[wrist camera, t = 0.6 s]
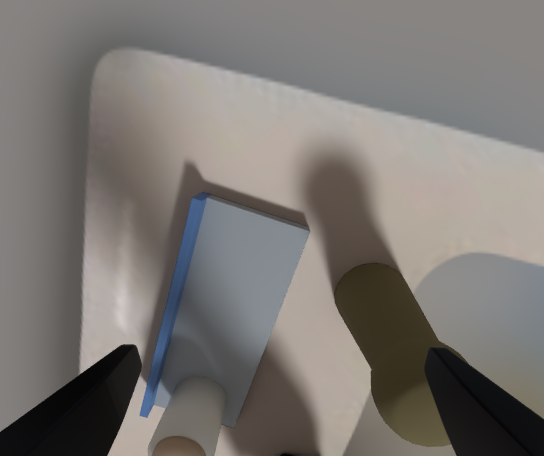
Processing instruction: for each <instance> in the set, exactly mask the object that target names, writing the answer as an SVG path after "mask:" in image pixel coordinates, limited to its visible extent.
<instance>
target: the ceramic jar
mask: <svg viewBox="0 0 544 456" xmlns="http://www.w3.org/2000/svg"><path fill="white" fill-rule="evenodd" d="M226 403H227V397H226V393H225V391H224V389H223V388H222V387H221V386H220V385H219V384H218V383H217V382H215V381H214V380H212V379H210V378H207V377H202V376H191V377H187V378H185V379H183V380H181V381H180V382H179V383H178V384H177V385H176V387H175V389H174V391H173V393H172V396H171V398H170V400H169V402H168V404H167V406H166V409H165V411H164V413H163V415H162V417H161V419H160V422H159V424H158V426H157V428H156V430H155V432H154V435H153V437H152V439H151V441H150V443H149V446H148V456H214V454H215V450H216V446H217V441H218V437H219V433H220V429H221V424H222V420H223V416H224V412H225V407H226Z"/></svg>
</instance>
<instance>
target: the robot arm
mask: <svg viewBox="0 0 544 456" xmlns="http://www.w3.org/2000/svg"><path fill="white" fill-rule="evenodd" d="M141 368H142V363H141V359H140V356H139V352H138V349H137V347H136V345H133V344H124V345H121V346H119V347H118V348H116V349H115V350H113V351H112V352H111V353H109V354H108V355H106V356H105V357H104V358H102V359H101V360H100V361H98V362H97V363H95V364H94V365H93V366H91V367H90V368H88V369H87V370H86V371H84V372H83V373H81V374H80V375H79V376H77V377H76V378H75V379H73V380H72V381H70V382H69V383H68V384H66V385H65V386H63V387H62V388H61V389H59V390H58V391H56V392H55V393H54V394H52V395H51V396H50V397H48V398H47V399H45V400H44V401H43V402H41V403H40V404H38V405H37V406H36V407H34V408H33V409H32V410H30V411H29V412H27V413H26V414H25V415H23V416H22V417H20V418H19V419H18V420H16V421H15V422H13V423H12V424H11V425H9V426H8V427H6V428H5V429H4V430H2V431H1V432H0V456H107V455H108V453H109V451H110V449H111V447H112V444H113V442H114V440H115V438H116V436H117V434H118V431H119V429H120V427H121V425H122V422H123V419H124V417H125V414H126V411H127V409H128V406H129V403H130V400H131V398H132V395H133V392H134V389H135V386H136V384H137V381H138V378H139V375H140V372H141ZM424 373H425V376H426V379H427V382H428V384H429V387H430V390H431V393H432V396H433V398H434V401H435V404H436V407H437V410H438V412H439V415H440V418H441V421H442V423H443V426H444V428H445V431H446V433H447V436H448V438H449V440H450V442H451V444H452V446H453V449H454V451H455V453H456V455H457V456H544V419H543V418H542V417H540V416H539V415H538V414H536V413H535V412H533V411H532V410H531V409H529V408H528V407H526V406H525V405H524V404H522V403H521V402H520V401H518V400H517V399H516V398H514V397H513V396H511V395H510V394H509V393H507V392H506V391H505V390H503V389H502V388H500V387H499V386H498V385H496V384H495V383H494V382H492V381H491V380H490V379H488V378H487V377H485V376H484V375H483V374H481V373H480V372H479V371H477V370H476V369H475V368H473V367H472V366H470V365H469V364H468V363H466V362H465V361H464V360H462V359H461V358H460V357H458V356H457V355H455V354H454V353H453V352H451V351H450V350H449V349H447V348H445V347H439V346H432V347H430V348H429V349H428V352H427V356H426V360H425V364H424ZM281 456H291V455H287V454H282V455H281Z"/></svg>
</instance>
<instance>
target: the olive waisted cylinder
mask: <svg viewBox="0 0 544 456" xmlns="http://www.w3.org/2000/svg"><path fill="white" fill-rule="evenodd" d="M335 304H336V306H337V309H338V311H339V313H340V315H341V317H342V318H343V320H344V322H345V324H346V325H347V327H348V329H349V331H350V332H351V334H352V336H353V338H354V339H355V341H356V343H357V345H358V346H359V348H360V350H361V352H362V353H363V355H364V357H365V359H366V360H367V362H368V364H369V366H370V367H371V369H372V370H371V393H372V396H373V399H374V402H375V405H376V407H377V409H378V411H379V413H380V415H381V417H382V418H383V420H384V421H385V423H386V424H387V425H388V426H389V427H390V428H391V429H392V430H393V431H394V432H395V433H397V434H398V435H399V436H400V437H402V438H403V439H405V440H407V441H409V442H411V443H413V444H417V445H421V446H426V447H434V446H446V445H450V444H451V442H450V440H449V438H448V436H447V433H446V431H445V428H444V426H443V423H442V421H441V418H440V415H439V412H438V410H437V407H436V404H435V401H434V398H433V396H432V393H431V390H430V387H429V384H428V382H427V379H426V376H425V373H424V364H425V360H426V356H427V352H428V349H429V348H430V347H432V346H439V347H445V348H447V349H449V350H450V351H451V352H453V353H454V354H455V355H457V356H458V357H460V358H461V359H462V360H464V361H465V362H466V363H467V361H466V360H465V359H464V358H463V357H462V356H461V355H460V354H459V353H458V352H456V351H455V350H454V349H452V348H451V347H449V346H447V345H445V344H444V343H442V342H440V341H439V340H438V338H437V337H436V335H435V333H434V331H433V329H432V328H431V326H430V324H429V322H428V321H427V319H426V317H425V315H424V313H423V312H422V310H421V308H420V306H419V304H418V303H417V301H416V299H415V297H414V295H413V294H412V292H411V290H410V288H409V286H408V285H407V283H406V281H405V279H404V278H403V277H402V276H401V275H400V273H399V272H398V271H397V270H395V269H393V268H391V267H390V266H388V265H383V264H378V263H372V264H364V265H361V266H358V267H355V268H353V269H352V270H350V271H349V272H348V273H346V274H345V275H344V276H343V278H342V279H341V280H340V282H339V283H338V285H337V288H336V291H335Z"/></svg>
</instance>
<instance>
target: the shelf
mask: <svg viewBox="0 0 544 456" xmlns="http://www.w3.org/2000/svg"><path fill="white" fill-rule="evenodd" d="M309 234H310V229H309V227H307V226H304V225H301V224H298V223H295V222H292V221H289V220H286V219H283V218H280V217H277V216H274V215H271V214H268V213H264V212H261V211H258V210H255V209H252V208H249V207H246V206H243V205H240V204H237V203H234V202H231V201H228V200H225V199H222V198H219V197H216V196H213V195H210V194H207V193H204V192H202V193H200V194H198V195H197V196H195V197H193V198H192V200H191V205H190V209H189V213H188V217H187V221H186V225H185V229H184V234H183V238H182V242H181V246H180V250H179V254H178V258H177V263H176V267H175V271H174V275H173V279H172V283H171V287H170V292H169V296H168V300H167V304H166V308H165V312H164V316H163V321H162V325H161V329H160V333H159V337H158V341H157V345H156V349H155V354H154V358H153V362H152V366H151V370H150V374H149V378H148V383H147V387H146V391H145V395H144V399H143V403H142V407H141V412H140V416H143V417H146V418H147V417H148V415H149V413H150V411H151V409H152V407H153V405H156V406H160V407H163V408H166V406H167V404H168V402H169V400H170V398H171V396H172V393H173V391H174V389H175V387H176V385H177V384H178V383H179V382H180V381H181V380H183V379H185V378H187V377H191V376H202V377H207V378H210V379H212V380H214V381H215V382H217V383H218V384H219V385H220V386H221V387H222V388H223V389H224V391H225V393H226V397H227V403H226V407H225V412H224V416H223V420H222V424H221V425H224V426H228V427H231V428H234V427H235V424H236V422H237V419H238V417H239V414H240V412H241V409H242V406H243V404H244V401H245V399H246V396H247V393H248V391H249V388H250V386H251V383H252V381H253V378H254V375H255V373H256V370H257V368H258V365H259V362H260V360H261V357H262V355H263V352H264V350H265V347H266V344H267V342H268V339H269V337H270V334H271V332H272V329H273V326H274V324H275V321H276V319H277V316H278V313H279V311H280V308H281V306H282V303H283V301H284V298H285V295H286V293H287V290H288V288H289V285H290V283H291V280H292V277H293V275H294V272H295V270H296V267H297V264H298V262H299V259H300V257H301V254H302V252H303V249H304V246H305V244H306V241H307V239H308V236H309Z"/></svg>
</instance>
